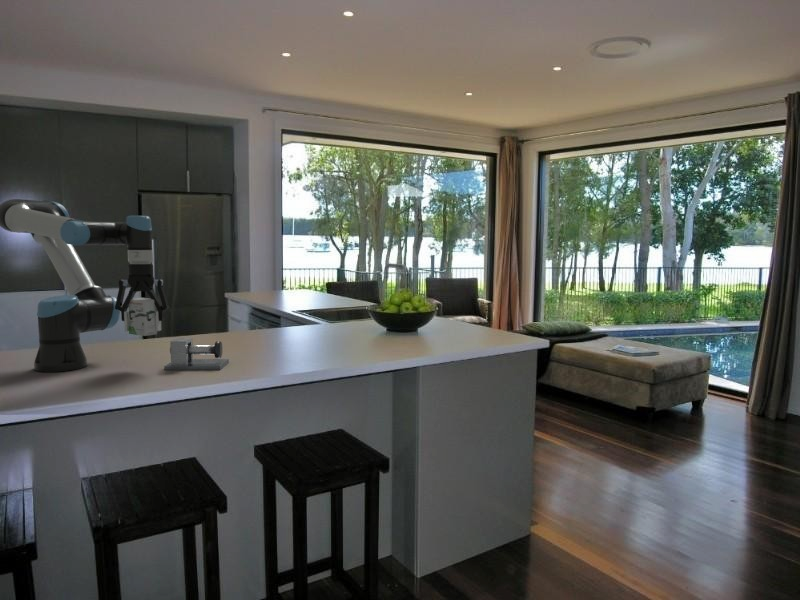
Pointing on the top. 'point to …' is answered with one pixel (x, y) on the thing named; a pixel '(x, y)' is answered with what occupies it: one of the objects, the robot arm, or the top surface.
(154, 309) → the ink box
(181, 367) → the rail
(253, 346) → the top surface
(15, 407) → the top surface
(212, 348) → the shaft
